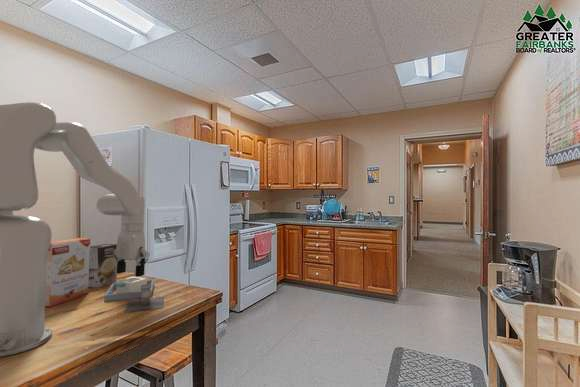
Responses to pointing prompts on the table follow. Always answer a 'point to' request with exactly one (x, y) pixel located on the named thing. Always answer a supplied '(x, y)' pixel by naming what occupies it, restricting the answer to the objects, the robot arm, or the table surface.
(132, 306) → the board
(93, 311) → the table surface
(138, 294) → the tray
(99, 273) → the coffee box
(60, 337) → the table surface
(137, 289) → the collar
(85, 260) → the cracker box
